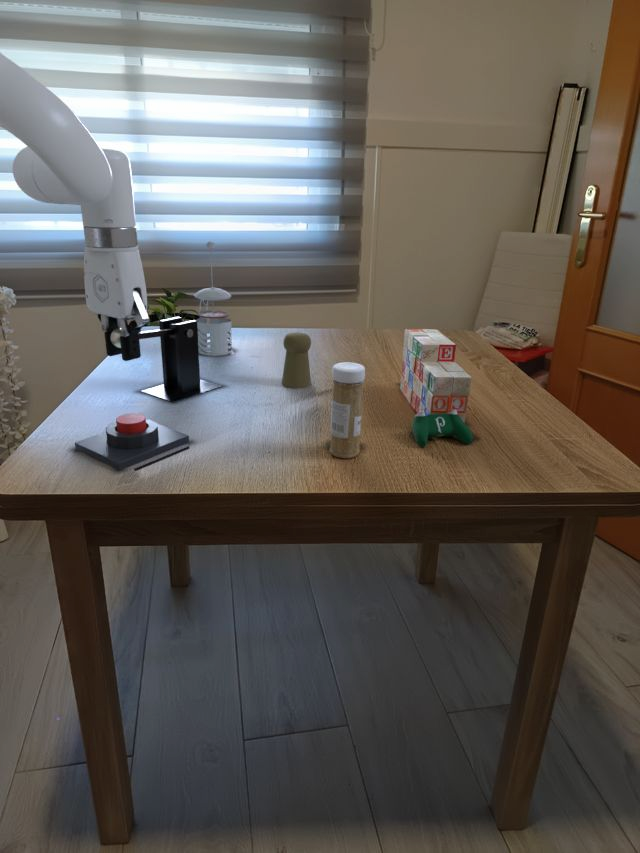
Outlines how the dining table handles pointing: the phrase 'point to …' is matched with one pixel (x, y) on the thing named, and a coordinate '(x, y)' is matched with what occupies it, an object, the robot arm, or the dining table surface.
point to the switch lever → (143, 334)
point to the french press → (213, 321)
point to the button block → (132, 445)
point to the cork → (296, 361)
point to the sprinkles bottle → (346, 409)
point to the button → (131, 423)
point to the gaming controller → (440, 427)
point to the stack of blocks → (433, 374)
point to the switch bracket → (180, 363)
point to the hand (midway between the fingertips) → (123, 355)
